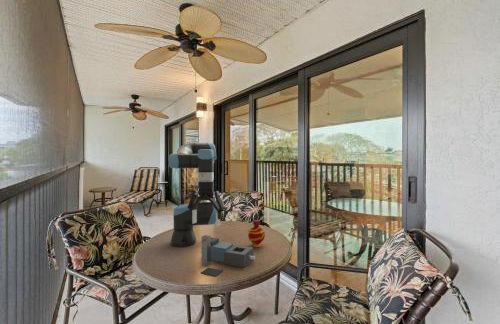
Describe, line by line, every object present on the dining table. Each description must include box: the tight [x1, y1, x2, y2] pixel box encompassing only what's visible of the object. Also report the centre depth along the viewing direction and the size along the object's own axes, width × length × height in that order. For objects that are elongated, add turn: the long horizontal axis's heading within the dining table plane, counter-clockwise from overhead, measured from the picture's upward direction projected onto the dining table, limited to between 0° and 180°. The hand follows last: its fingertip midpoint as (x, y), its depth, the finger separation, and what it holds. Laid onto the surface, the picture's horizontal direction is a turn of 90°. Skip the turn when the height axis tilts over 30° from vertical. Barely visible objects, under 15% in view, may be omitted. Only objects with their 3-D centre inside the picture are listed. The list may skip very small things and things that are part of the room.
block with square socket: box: [211, 236, 256, 268], centre depth 131 cm, size 27×11×9 cm, turn 66°
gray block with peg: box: [200, 234, 212, 267], centre depth 125 cm, size 3×6×14 cm, turn 156°
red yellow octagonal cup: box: [247, 219, 266, 248], centre depth 152 cm, size 10×10×15 cm
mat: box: [200, 266, 224, 277], centre depth 117 cm, size 8×6×1 cm
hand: (206, 224), depth 124 cm, fingers open, 13 cm apart
